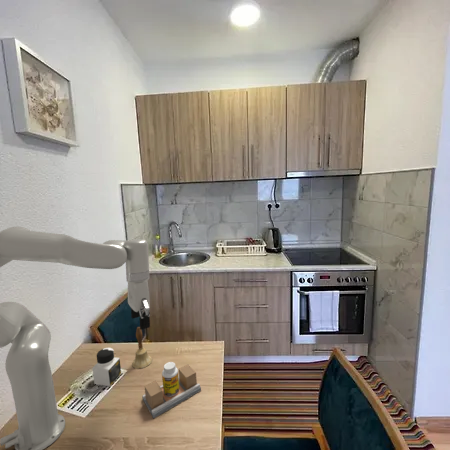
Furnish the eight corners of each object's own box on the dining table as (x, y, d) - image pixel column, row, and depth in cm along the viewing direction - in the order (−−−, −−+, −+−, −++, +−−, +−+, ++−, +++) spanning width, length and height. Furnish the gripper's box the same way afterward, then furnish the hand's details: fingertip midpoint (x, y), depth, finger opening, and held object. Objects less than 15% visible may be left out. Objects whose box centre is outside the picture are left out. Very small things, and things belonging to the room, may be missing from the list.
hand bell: (128, 367, 108) (124, 332, 105) (139, 355, 116) (135, 321, 113) (145, 370, 106) (142, 333, 103) (155, 357, 114) (152, 323, 111)
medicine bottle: (110, 386, 97) (107, 357, 96) (94, 384, 99) (90, 356, 97) (121, 373, 104) (118, 346, 103) (106, 371, 106) (102, 344, 104)
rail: (153, 418, 83) (151, 401, 82) (142, 399, 91) (141, 383, 90) (201, 390, 93) (200, 374, 93) (187, 375, 101) (186, 361, 100)
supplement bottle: (163, 399, 88) (161, 372, 87) (163, 387, 94) (161, 362, 92) (180, 395, 90) (178, 368, 88) (178, 384, 95) (176, 358, 94)
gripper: (120, 271, 93) (122, 316, 95) (134, 284, 79) (137, 336, 81) (140, 267, 97) (142, 310, 99) (157, 279, 84) (160, 329, 86)
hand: (140, 322), depth 90 cm, fingers open, 9 cm apart
